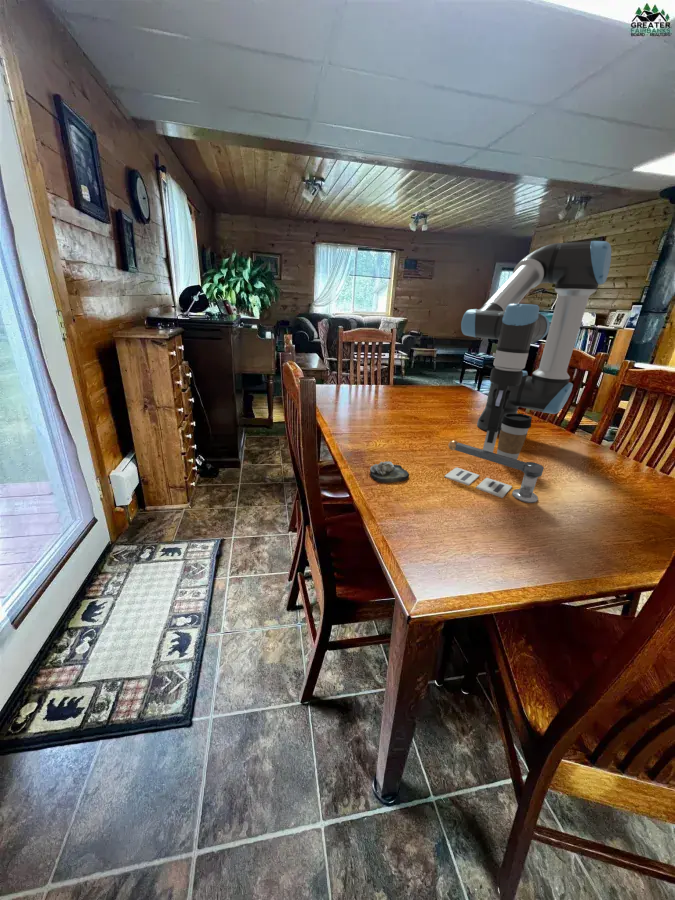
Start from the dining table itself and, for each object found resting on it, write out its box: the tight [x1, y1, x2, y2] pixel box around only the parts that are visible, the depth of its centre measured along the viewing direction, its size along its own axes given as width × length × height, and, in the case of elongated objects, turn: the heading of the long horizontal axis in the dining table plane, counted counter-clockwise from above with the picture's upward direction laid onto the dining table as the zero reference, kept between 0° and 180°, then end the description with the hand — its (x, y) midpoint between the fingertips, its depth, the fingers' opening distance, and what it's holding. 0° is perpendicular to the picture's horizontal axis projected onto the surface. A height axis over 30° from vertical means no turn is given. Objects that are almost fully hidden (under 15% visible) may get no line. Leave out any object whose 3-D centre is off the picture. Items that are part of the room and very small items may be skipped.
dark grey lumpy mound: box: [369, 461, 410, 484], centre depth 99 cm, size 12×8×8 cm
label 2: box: [475, 476, 513, 499], centre depth 95 cm, size 8×7×1 cm
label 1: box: [444, 467, 480, 486], centre depth 100 cm, size 8×7×1 cm
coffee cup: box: [496, 413, 533, 460], centre depth 110 cm, size 8×8×15 cm
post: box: [511, 473, 539, 504], centre depth 90 cm, size 6×6×7 cm
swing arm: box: [448, 440, 545, 478], centre depth 94 cm, size 25×4×3 cm, turn 49°
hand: (487, 451), depth 100 cm, fingers closed
